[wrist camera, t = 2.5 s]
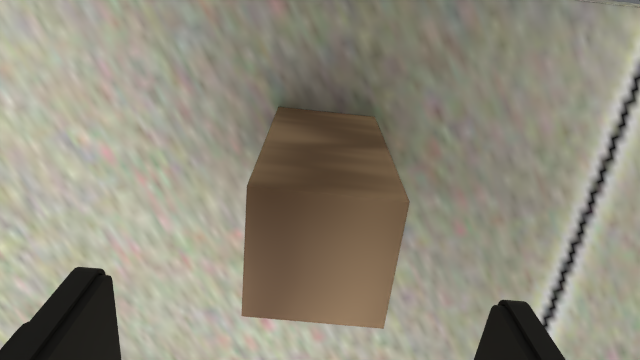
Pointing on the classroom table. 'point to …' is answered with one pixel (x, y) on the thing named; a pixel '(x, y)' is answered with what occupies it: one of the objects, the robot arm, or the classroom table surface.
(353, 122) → the walnut peg
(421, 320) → the classroom table surface
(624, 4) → the grey slotted board
